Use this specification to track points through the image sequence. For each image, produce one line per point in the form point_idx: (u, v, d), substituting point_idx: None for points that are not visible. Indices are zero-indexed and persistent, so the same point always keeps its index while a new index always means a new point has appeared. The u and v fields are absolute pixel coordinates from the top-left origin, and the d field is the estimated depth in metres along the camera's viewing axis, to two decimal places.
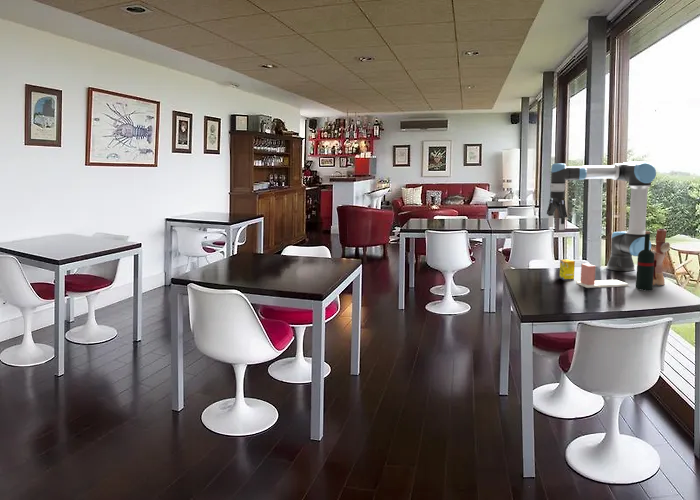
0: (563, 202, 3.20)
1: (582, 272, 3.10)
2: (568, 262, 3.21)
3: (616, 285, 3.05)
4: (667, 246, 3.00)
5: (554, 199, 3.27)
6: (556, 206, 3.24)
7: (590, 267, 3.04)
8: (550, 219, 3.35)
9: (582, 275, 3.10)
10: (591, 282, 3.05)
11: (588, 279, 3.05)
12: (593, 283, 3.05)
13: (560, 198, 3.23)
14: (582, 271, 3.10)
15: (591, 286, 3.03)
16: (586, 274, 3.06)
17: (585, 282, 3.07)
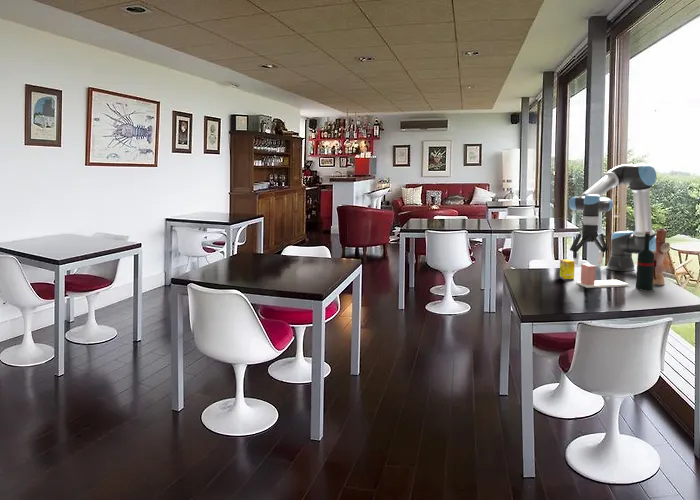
0: (577, 235, 3.04)
1: (582, 272, 3.10)
2: (568, 262, 3.21)
3: (616, 285, 3.05)
4: (667, 246, 3.00)
5: None
6: None
7: (590, 267, 3.04)
8: (599, 255, 3.07)
9: (582, 275, 3.10)
10: (591, 282, 3.05)
11: (588, 279, 3.05)
12: (593, 283, 3.05)
13: (583, 231, 3.04)
14: (582, 271, 3.10)
15: (591, 286, 3.03)
16: (586, 274, 3.06)
17: (585, 282, 3.07)
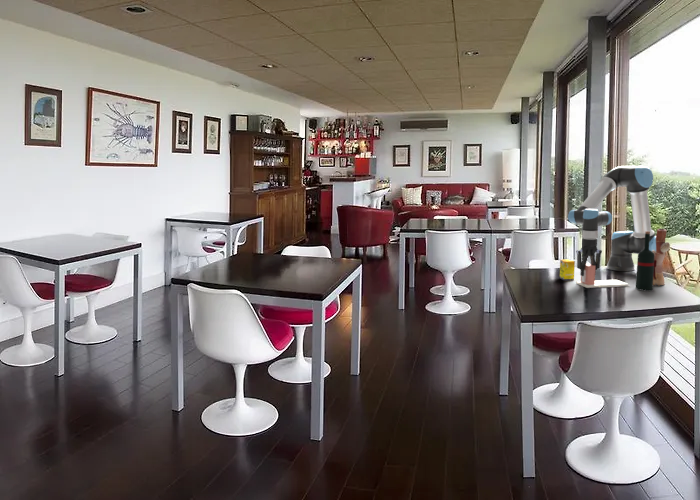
0: (578, 253, 3.05)
1: None
2: (568, 262, 3.21)
3: (616, 285, 3.05)
4: (667, 246, 3.00)
5: None
6: None
7: (590, 267, 3.04)
8: None
9: None
10: (591, 282, 3.05)
11: (588, 279, 3.05)
12: (593, 283, 3.05)
13: None
14: None
15: (591, 286, 3.03)
16: (586, 274, 3.06)
17: (585, 282, 3.07)
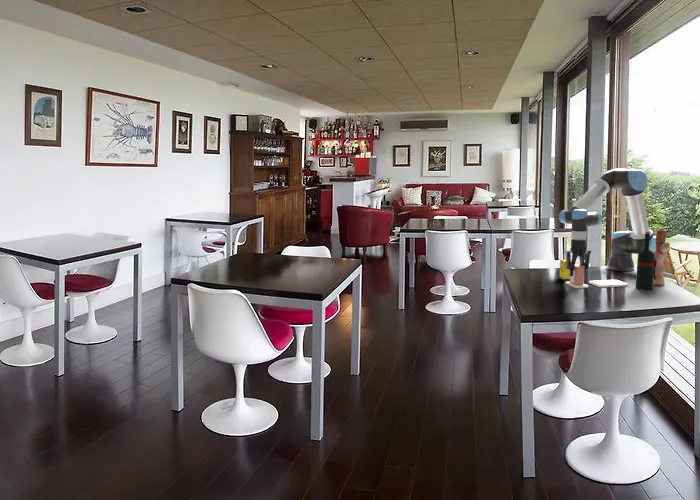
0: (567, 253, 3.04)
1: None
2: None
3: (616, 285, 3.05)
4: (667, 246, 3.00)
5: None
6: None
7: (579, 267, 3.03)
8: None
9: None
10: (580, 282, 3.04)
11: (577, 279, 3.04)
12: (582, 283, 3.05)
13: None
14: None
15: (580, 286, 3.03)
16: (575, 274, 3.05)
17: None
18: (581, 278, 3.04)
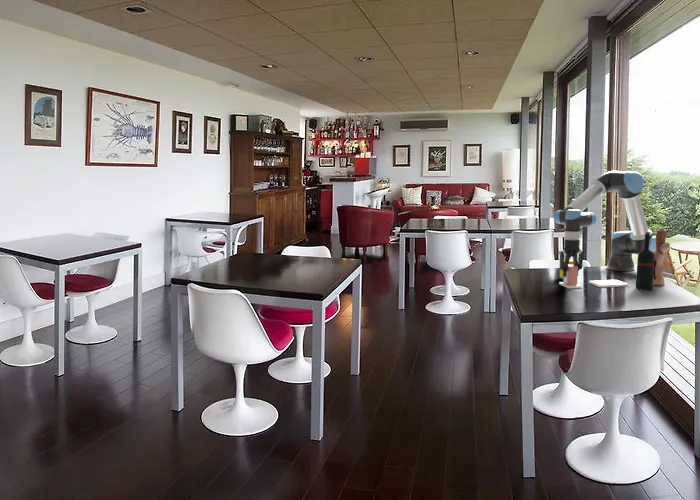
0: (560, 254, 3.04)
1: None
2: None
3: (616, 285, 3.05)
4: (667, 246, 3.00)
5: None
6: None
7: (572, 268, 3.03)
8: None
9: None
10: (573, 283, 3.04)
11: (570, 280, 3.04)
12: (575, 284, 3.04)
13: None
14: None
15: (573, 287, 3.02)
16: (568, 275, 3.05)
17: None
18: (574, 278, 3.04)
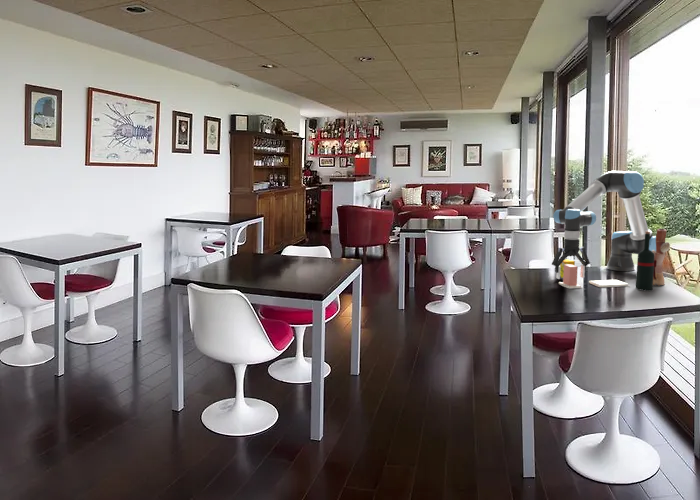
0: (559, 250, 3.04)
1: (564, 273, 3.09)
2: (568, 262, 3.21)
3: (616, 285, 3.05)
4: (667, 246, 3.00)
5: None
6: None
7: (572, 268, 3.03)
8: (581, 269, 3.08)
9: (564, 276, 3.09)
10: (573, 283, 3.04)
11: (570, 280, 3.04)
12: (575, 284, 3.04)
13: (564, 246, 3.04)
14: (564, 272, 3.08)
15: (573, 287, 3.02)
16: (568, 275, 3.05)
17: (567, 282, 3.06)
18: (574, 278, 3.04)
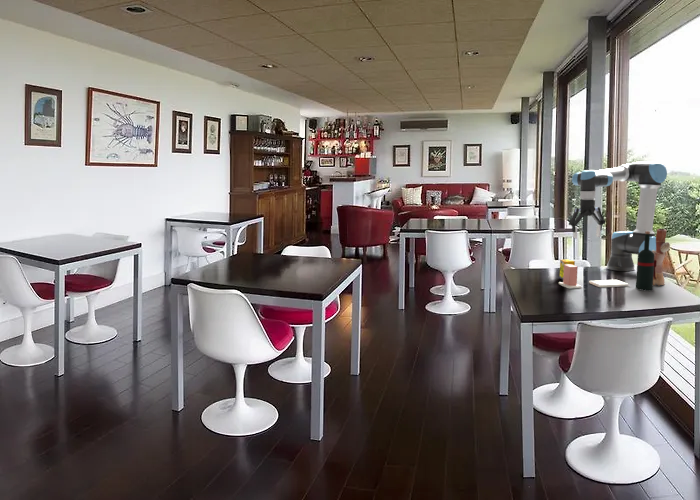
0: (575, 210, 3.14)
1: (564, 273, 3.09)
2: (568, 262, 3.21)
3: (616, 285, 3.05)
4: (667, 246, 3.00)
5: None
6: None
7: (572, 268, 3.03)
8: (597, 228, 3.18)
9: (564, 276, 3.09)
10: (573, 283, 3.04)
11: (570, 280, 3.04)
12: (575, 284, 3.04)
13: (581, 206, 3.14)
14: (564, 272, 3.08)
15: (573, 287, 3.02)
16: (568, 275, 3.05)
17: (567, 282, 3.06)
18: (574, 278, 3.04)
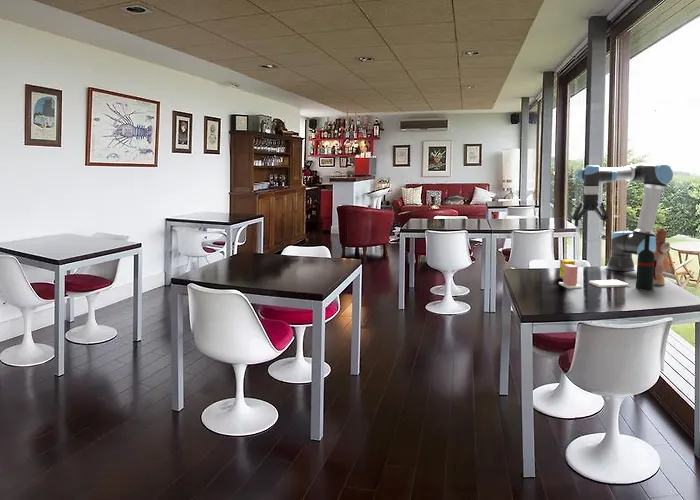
0: (579, 204, 3.17)
1: (564, 273, 3.09)
2: (568, 262, 3.21)
3: (616, 285, 3.05)
4: (667, 246, 3.00)
5: None
6: None
7: (572, 268, 3.03)
8: (600, 223, 3.21)
9: (564, 276, 3.09)
10: (573, 283, 3.04)
11: (570, 280, 3.04)
12: (575, 284, 3.04)
13: (584, 201, 3.17)
14: (564, 272, 3.08)
15: (573, 287, 3.02)
16: (568, 275, 3.05)
17: (567, 282, 3.06)
18: (574, 278, 3.04)
